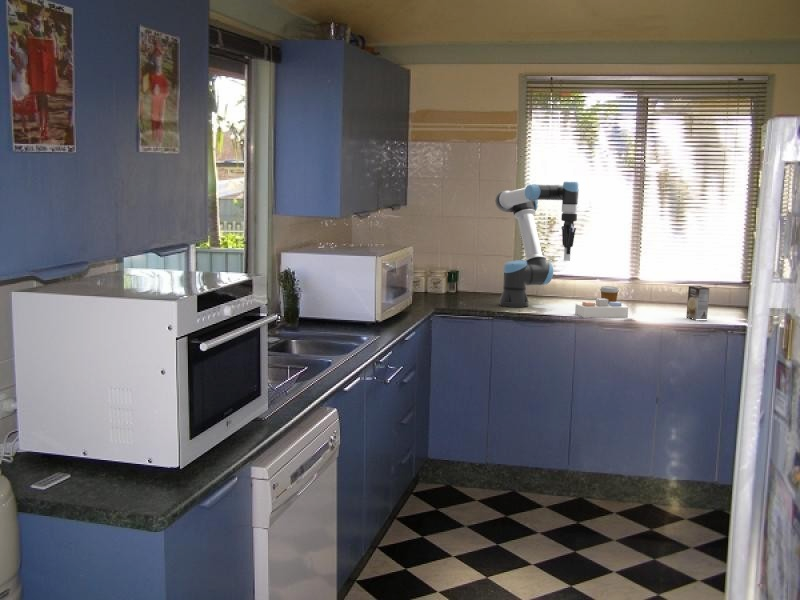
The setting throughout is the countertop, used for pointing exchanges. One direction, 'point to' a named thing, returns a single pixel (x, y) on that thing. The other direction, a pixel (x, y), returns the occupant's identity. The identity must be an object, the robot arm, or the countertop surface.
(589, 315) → the keypad base
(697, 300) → the coffee box
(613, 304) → the key blue
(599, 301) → the key grey
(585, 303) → the key terracotta
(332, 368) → the countertop surface
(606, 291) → the disposable coffee cup
